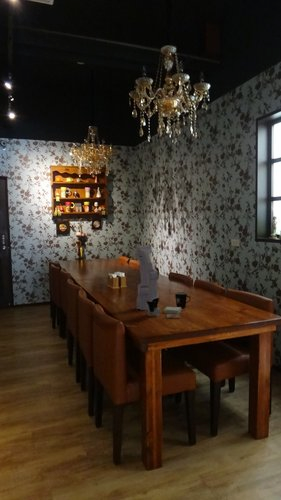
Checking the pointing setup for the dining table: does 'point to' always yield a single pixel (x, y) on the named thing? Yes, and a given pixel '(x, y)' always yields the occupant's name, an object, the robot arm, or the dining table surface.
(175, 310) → the grey green square tray
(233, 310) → the dining table surface
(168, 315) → the plate
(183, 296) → the coffee mug
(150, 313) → the block
